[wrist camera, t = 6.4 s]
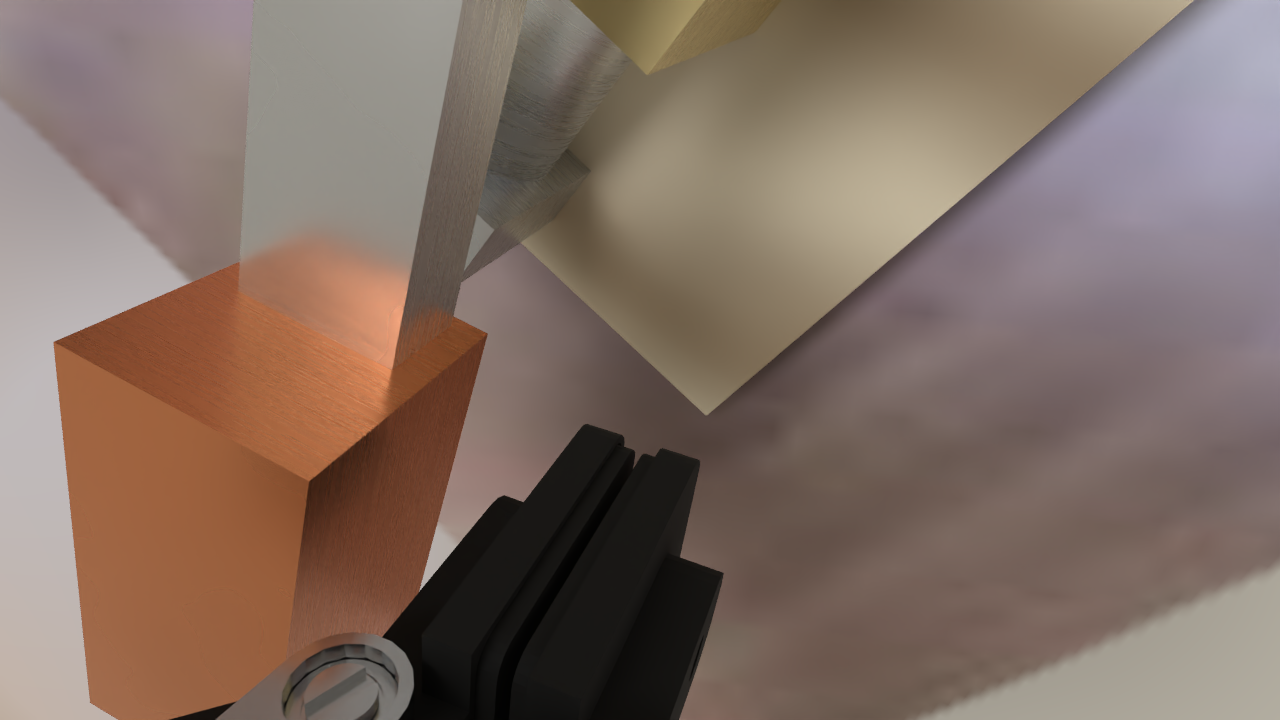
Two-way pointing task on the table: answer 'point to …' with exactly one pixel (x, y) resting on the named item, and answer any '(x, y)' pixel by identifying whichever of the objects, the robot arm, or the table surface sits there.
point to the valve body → (580, 96)
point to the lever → (292, 365)
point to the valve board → (808, 163)
